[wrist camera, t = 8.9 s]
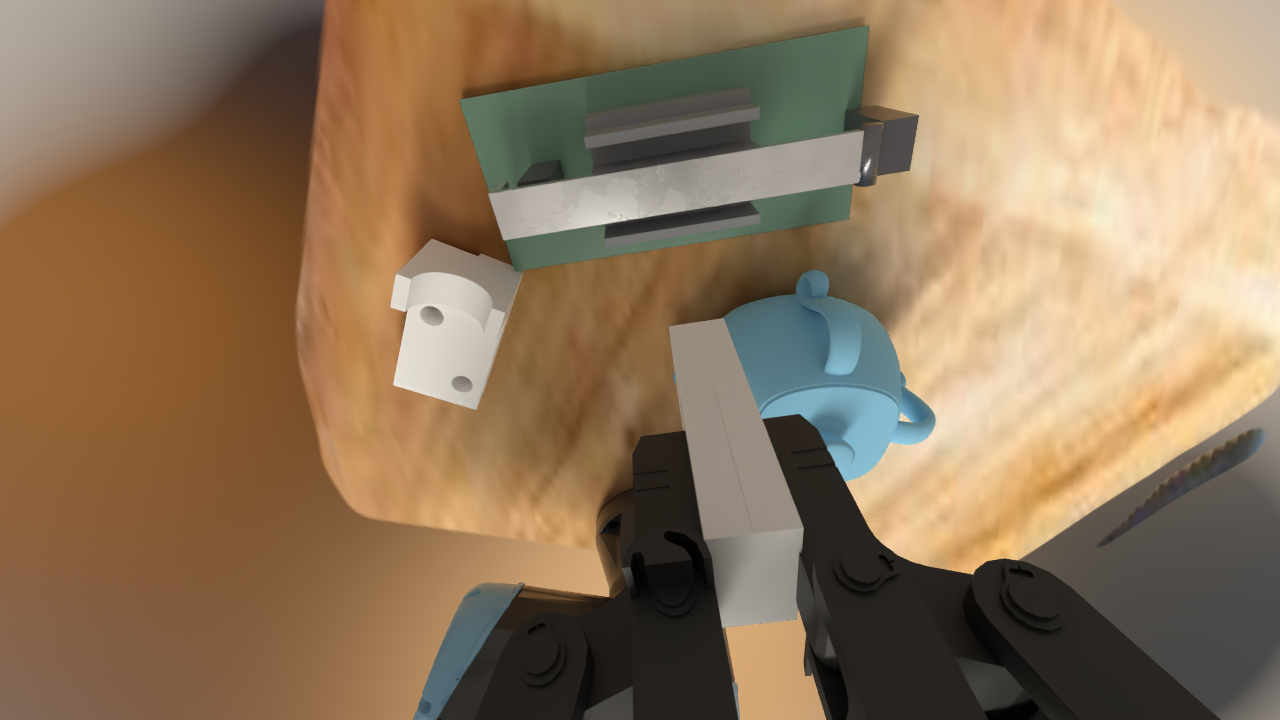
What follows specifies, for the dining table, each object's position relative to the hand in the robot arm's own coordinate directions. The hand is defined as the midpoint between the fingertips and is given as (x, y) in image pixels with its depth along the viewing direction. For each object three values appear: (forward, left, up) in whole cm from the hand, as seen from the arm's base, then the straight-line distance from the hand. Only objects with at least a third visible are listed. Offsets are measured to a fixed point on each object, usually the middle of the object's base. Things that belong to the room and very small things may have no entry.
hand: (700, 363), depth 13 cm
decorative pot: (-17, -9, -25) cm, 32 cm away
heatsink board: (+1, -1, -25) cm, 24 cm away
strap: (+1, -1, -20) cm, 20 cm away
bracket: (-9, +18, -25) cm, 32 cm away
